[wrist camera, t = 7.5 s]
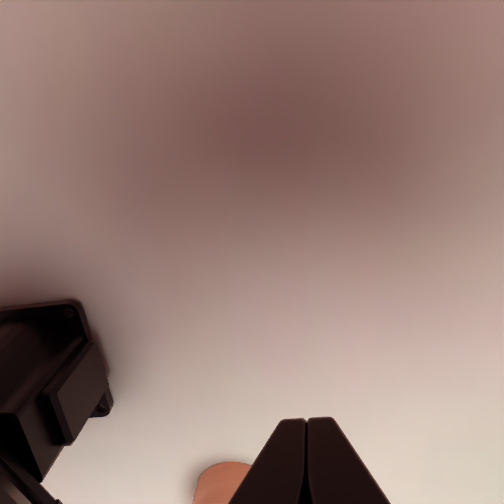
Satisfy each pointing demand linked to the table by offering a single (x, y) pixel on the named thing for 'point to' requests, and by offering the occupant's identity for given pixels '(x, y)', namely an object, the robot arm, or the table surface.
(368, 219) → the table surface
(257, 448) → the table surface
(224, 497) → the terracotta cylinder
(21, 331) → the robot arm
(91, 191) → the table surface
